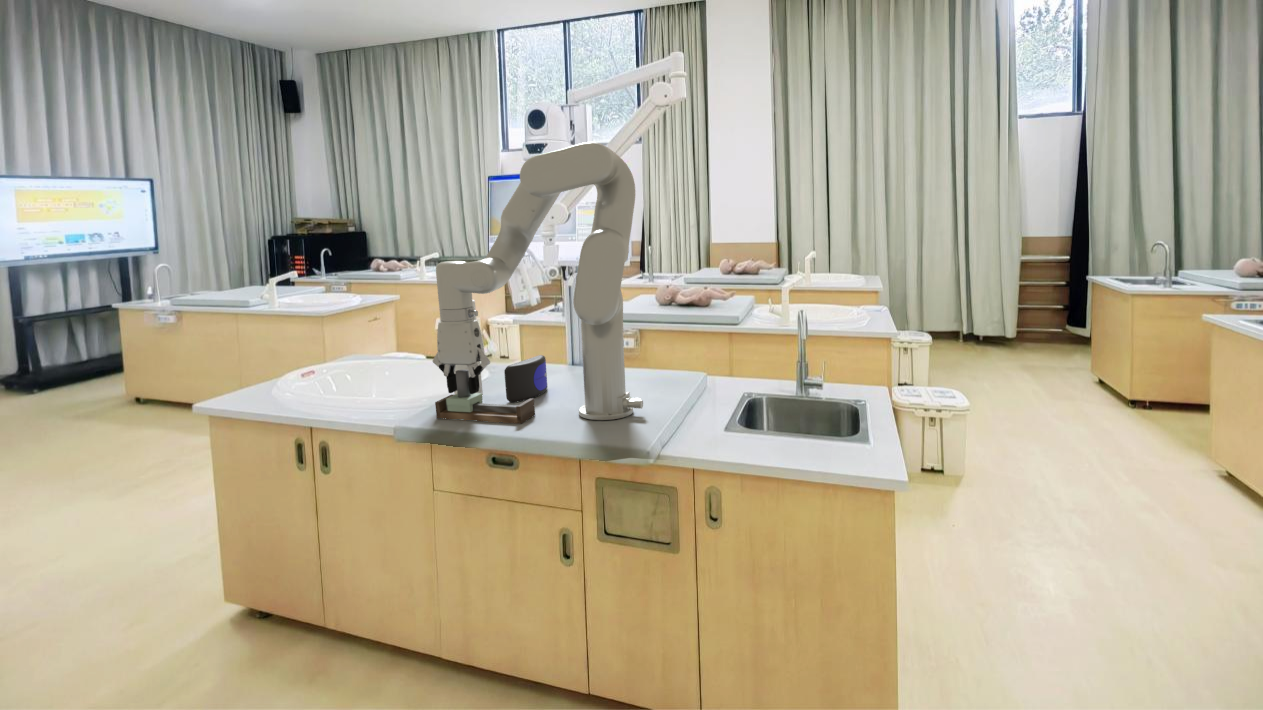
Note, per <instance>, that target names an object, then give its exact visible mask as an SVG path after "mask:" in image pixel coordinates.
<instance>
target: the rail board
mask: <svg viewBox="0 0 1263 710" xmlns="http://www.w3.org/2000/svg"><path fill="white" fill-rule="evenodd" d="M453 395H454V394H450V395H448V396H446V397H443V398H441V399H439V400H437V401H435V402H434V404H435V414H436V415H435V416H436V419H437V418H442V419H441V420H450V419H464V420H463V421H466V420H477V421H476V422H483V421H488V422H487V423H499V422H503V424H516V425H517V424H519V425H520V424H521V425H522V424H524V423H526V422H527V421H528V420H530V419H531V418H533V417H534V415H535V416H536V408H535V398H530V399H528V400H524V401H522V402H521V403H519V404H503V403H502V404H501V403H483V402H482V403H475V404H473V411H472V412H456V411H448V408H447V403H446V399H447V398H449V397H451V396H453ZM532 416H533V417H532ZM443 418H444V419H443ZM445 418H446V419H445ZM529 418H530V419H529ZM526 420H527V421H526Z"/></svg>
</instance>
